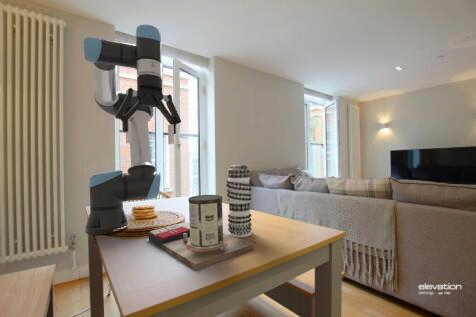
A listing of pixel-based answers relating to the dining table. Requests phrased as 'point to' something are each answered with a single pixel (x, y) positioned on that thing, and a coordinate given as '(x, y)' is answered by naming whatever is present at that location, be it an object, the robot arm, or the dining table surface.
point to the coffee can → (205, 221)
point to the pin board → (206, 251)
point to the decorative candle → (239, 201)
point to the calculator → (169, 233)
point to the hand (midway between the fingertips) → (151, 143)
